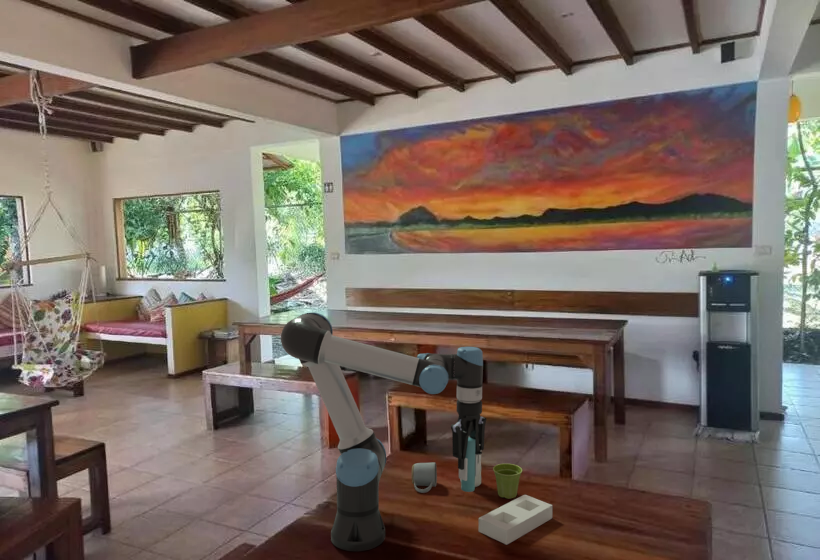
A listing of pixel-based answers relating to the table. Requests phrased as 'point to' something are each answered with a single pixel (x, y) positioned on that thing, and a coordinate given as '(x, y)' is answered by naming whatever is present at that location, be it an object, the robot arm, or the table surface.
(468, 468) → the teal pin
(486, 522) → the hole block
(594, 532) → the table surface
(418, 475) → the ceramic mug
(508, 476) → the plant pot
